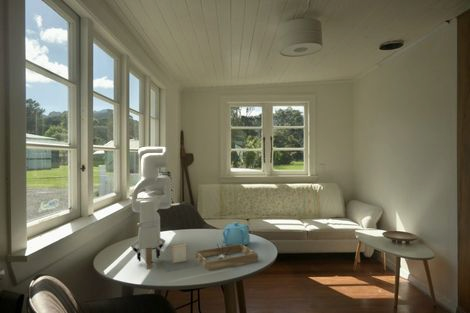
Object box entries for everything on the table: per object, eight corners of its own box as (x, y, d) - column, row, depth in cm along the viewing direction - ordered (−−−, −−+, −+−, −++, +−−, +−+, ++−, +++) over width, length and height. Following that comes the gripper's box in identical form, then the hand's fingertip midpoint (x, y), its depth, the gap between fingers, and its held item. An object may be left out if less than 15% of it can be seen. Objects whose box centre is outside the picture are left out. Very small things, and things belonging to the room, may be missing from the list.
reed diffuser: (213, 255, 140) (218, 238, 160) (209, 268, 141) (215, 250, 161) (233, 261, 140) (236, 243, 160) (230, 274, 141) (233, 255, 160)
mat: (160, 264, 144) (160, 263, 144) (191, 259, 151) (191, 258, 151) (166, 273, 134) (166, 271, 134) (199, 266, 141) (199, 265, 141)
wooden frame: (195, 259, 151) (195, 251, 151) (241, 251, 163) (241, 243, 163) (208, 271, 135) (207, 262, 135) (257, 261, 146) (257, 253, 146)
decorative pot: (252, 242, 180) (252, 220, 180) (246, 250, 165) (245, 225, 165) (227, 240, 185) (227, 219, 185) (219, 248, 169) (218, 224, 170)
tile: (172, 262, 146) (172, 246, 146) (186, 260, 149) (185, 244, 149) (173, 263, 144) (172, 247, 144) (187, 261, 147) (186, 245, 147)
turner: (143, 263, 147) (142, 247, 147) (153, 261, 149) (153, 246, 149) (146, 271, 137) (146, 254, 137) (157, 269, 139) (157, 252, 139)
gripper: (130, 228, 140) (131, 264, 140) (166, 223, 147) (167, 258, 147) (128, 225, 147) (129, 259, 146) (163, 221, 154) (164, 254, 154)
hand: (148, 258), depth 147 cm, fingers open, 8 cm apart
